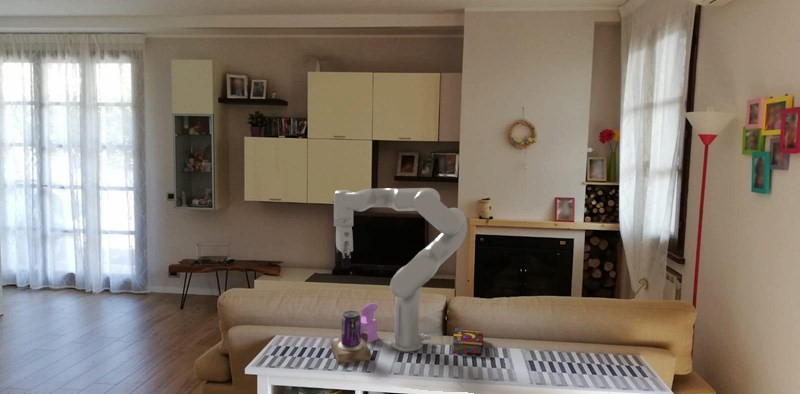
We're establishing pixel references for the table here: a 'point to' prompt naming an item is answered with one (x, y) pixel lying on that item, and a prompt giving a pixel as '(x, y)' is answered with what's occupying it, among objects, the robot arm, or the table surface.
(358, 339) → the beverage can
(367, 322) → the toy chair
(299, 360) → the table surface
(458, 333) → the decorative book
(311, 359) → the table surface
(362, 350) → the base
